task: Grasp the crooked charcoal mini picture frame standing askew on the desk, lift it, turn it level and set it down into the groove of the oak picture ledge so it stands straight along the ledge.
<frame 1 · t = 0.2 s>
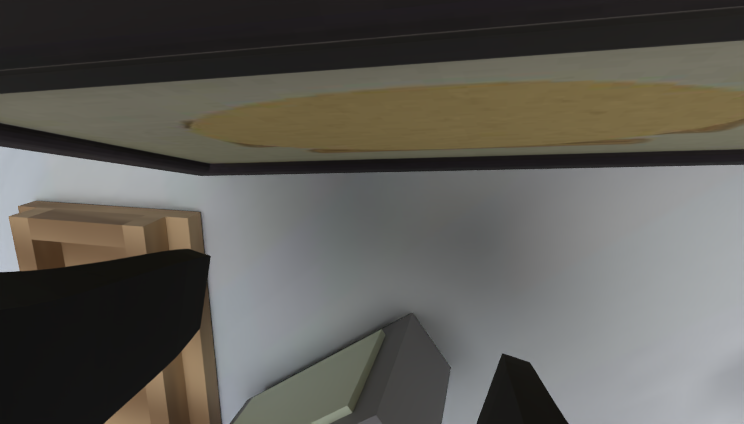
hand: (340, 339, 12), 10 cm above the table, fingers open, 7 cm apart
picture ledge: (141, 390, 27), on the table
picture frame: (466, 46, 19), on the table
mini frame: (342, 384, 24), on the table
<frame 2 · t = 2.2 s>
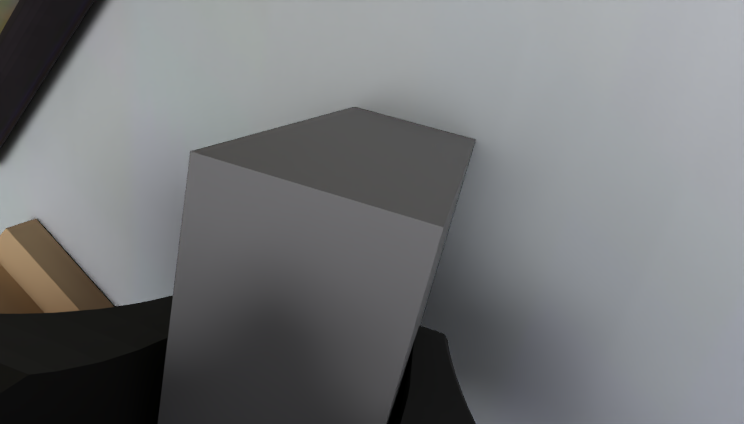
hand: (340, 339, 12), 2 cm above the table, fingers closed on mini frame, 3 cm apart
mini frame: (366, 305, 14), on the table, touching gripper
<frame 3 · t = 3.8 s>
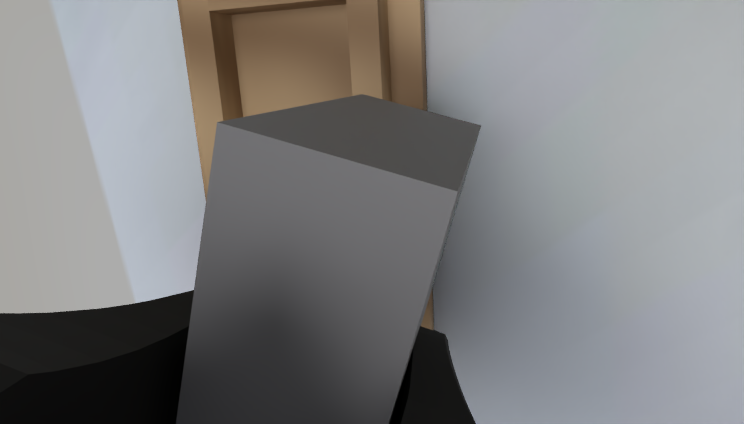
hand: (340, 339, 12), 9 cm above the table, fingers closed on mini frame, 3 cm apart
picture ledge: (322, 243, 21), on the table
mini frame: (373, 289, 14), point 7 cm above the table, touching gripper
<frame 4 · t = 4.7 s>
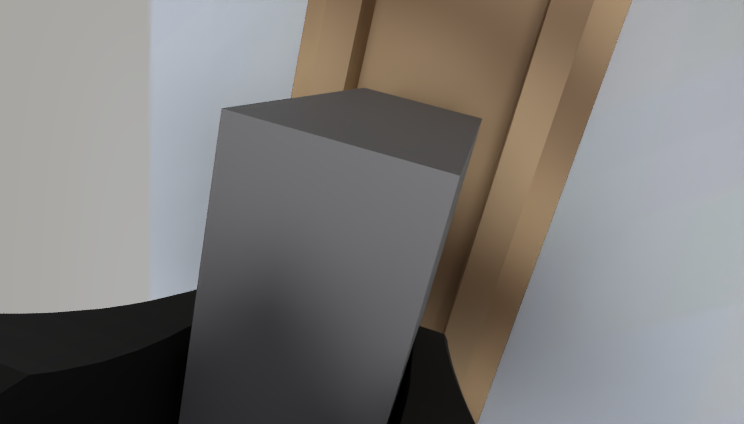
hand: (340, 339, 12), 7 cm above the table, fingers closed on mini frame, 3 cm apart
picture ledge: (397, 245, 18), on the table
mini frame: (375, 282, 14), point 4 cm above the table, touching gripper
when the fingers open (4 cm above the table, at t = 5.6 s): mini frame stays where it is, resting on picture ledge.
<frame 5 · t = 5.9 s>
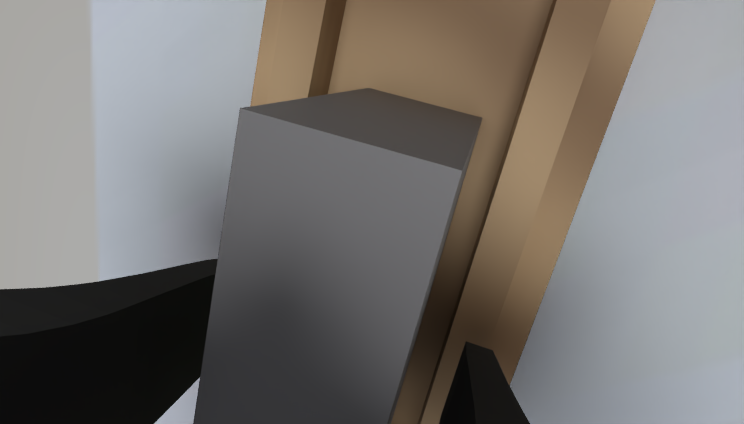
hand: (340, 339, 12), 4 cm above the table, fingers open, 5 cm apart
picture ledge: (379, 274, 16), on the table
mini frame: (379, 276, 15), point 1 cm above the table, touching picture ledge
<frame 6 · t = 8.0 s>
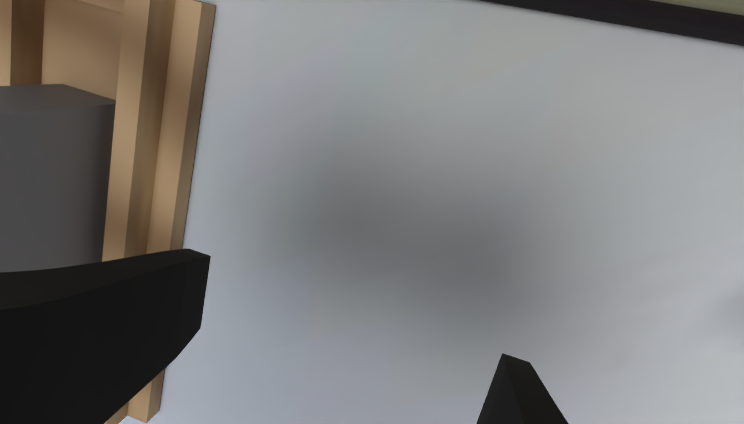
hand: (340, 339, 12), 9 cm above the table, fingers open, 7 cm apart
picture ledge: (98, 205, 24), on the table
mini frame: (85, 204, 23), point 1 cm above the table, touching picture ledge
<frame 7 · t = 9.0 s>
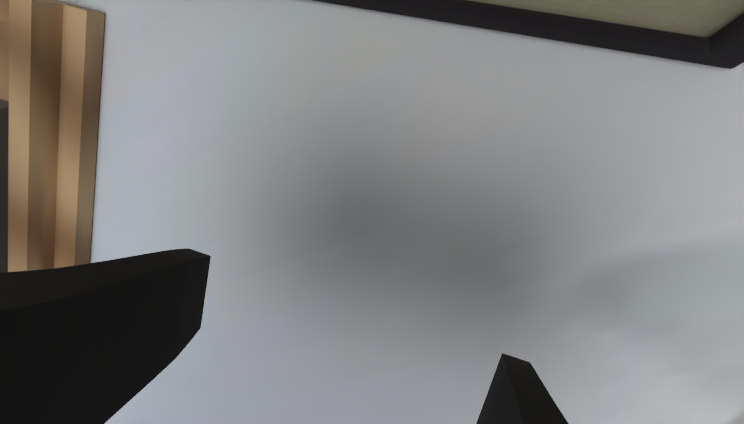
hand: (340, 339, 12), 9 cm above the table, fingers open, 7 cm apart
picture ledge: (12, 205, 25), on the table
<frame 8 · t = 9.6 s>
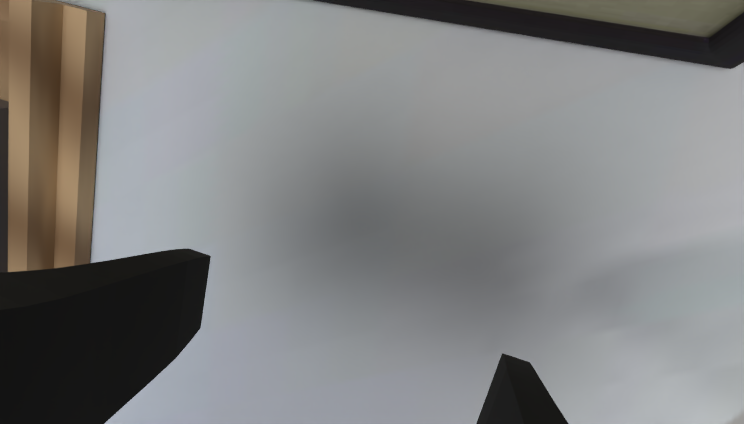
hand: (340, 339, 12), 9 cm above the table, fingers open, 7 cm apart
picture ledge: (12, 205, 25), on the table
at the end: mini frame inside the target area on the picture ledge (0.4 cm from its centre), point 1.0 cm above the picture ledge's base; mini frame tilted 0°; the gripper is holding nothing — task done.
